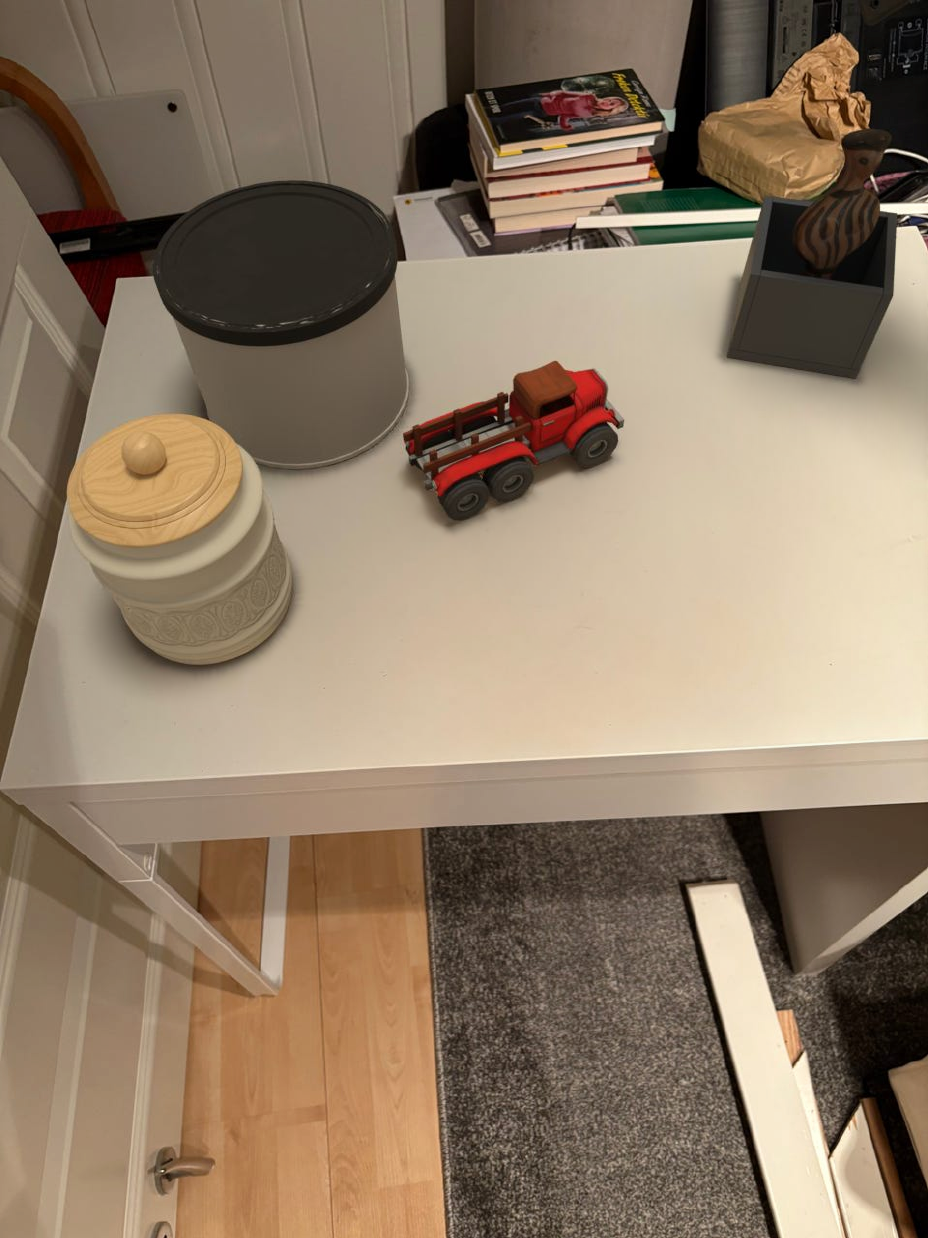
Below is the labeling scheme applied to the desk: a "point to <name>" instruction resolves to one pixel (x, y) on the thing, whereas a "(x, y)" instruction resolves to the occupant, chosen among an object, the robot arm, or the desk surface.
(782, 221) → the bin
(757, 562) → the desk surface
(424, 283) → the desk surface
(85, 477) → the jar
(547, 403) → the toy truck
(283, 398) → the container
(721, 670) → the desk surface
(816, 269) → the figurine
